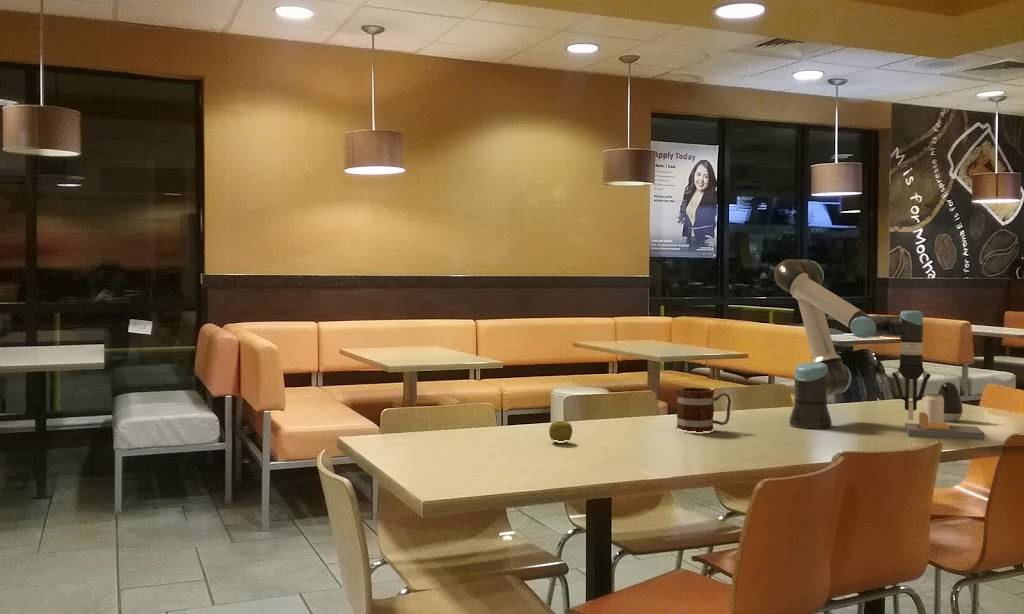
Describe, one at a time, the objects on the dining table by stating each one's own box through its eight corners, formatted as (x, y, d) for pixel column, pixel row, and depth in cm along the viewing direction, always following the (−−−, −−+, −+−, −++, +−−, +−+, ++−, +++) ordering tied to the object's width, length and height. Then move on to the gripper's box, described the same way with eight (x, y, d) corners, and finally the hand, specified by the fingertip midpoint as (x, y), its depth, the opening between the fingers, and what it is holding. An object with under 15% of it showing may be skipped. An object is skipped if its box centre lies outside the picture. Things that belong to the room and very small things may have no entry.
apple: (563, 446, 302) (563, 424, 302) (544, 443, 307) (544, 422, 307) (576, 443, 308) (577, 422, 308) (558, 440, 313) (558, 419, 313)
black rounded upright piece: (928, 420, 357) (929, 381, 356) (941, 417, 363) (942, 379, 363) (954, 423, 349) (955, 384, 348) (967, 421, 355) (968, 382, 355)
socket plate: (908, 436, 322) (908, 429, 322) (904, 429, 335) (904, 423, 335) (984, 440, 314) (984, 433, 314) (977, 433, 328) (977, 426, 327)
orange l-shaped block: (921, 428, 323) (922, 415, 322) (919, 424, 331) (919, 412, 331) (949, 430, 320) (950, 417, 320) (946, 425, 328) (946, 413, 328)
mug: (679, 434, 326) (679, 392, 325) (673, 427, 339) (673, 387, 339) (734, 434, 325) (735, 392, 325) (726, 427, 339) (727, 387, 338)
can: (939, 425, 345) (940, 393, 344) (946, 428, 339) (946, 396, 338) (921, 425, 346) (922, 393, 345) (927, 428, 339) (928, 395, 339)
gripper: (892, 354, 325) (891, 420, 326) (932, 355, 321) (931, 421, 322) (890, 352, 333) (890, 416, 333) (929, 353, 328) (929, 418, 329)
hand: (910, 419), depth 328 cm, fingers closed
